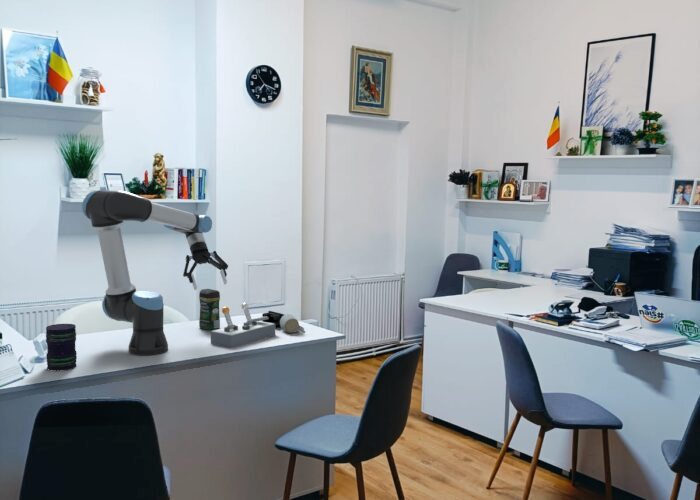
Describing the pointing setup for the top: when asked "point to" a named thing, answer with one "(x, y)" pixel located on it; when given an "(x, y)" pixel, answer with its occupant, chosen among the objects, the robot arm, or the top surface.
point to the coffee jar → (209, 309)
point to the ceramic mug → (290, 324)
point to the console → (242, 334)
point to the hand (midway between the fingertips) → (210, 285)
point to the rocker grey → (261, 318)
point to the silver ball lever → (247, 313)
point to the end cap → (273, 318)
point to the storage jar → (61, 346)
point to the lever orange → (228, 318)
